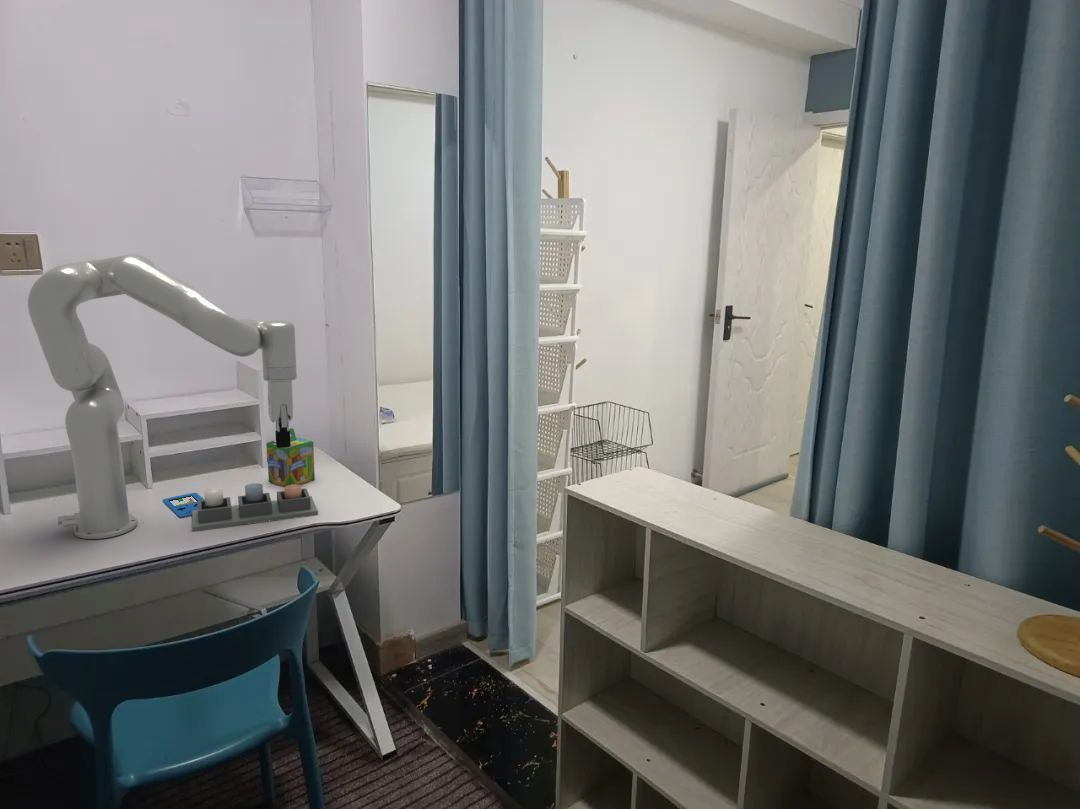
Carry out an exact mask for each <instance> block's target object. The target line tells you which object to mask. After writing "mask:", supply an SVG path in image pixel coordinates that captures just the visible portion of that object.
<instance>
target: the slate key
mask: <svg viewBox="0 0 1080 809" xmlns="http://www.w3.org/2000/svg"><path fill="white" fill-rule="evenodd" d="M244 493H245V494H244V495H245V496H246V500H247V501H259V500H262V499H263V493H264V486H263V484H262V483H258V482H256V483H249V484H246V485H245V486H244Z"/></svg>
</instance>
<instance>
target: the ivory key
mask: <svg viewBox="0 0 1080 809" xmlns="http://www.w3.org/2000/svg"><path fill="white" fill-rule="evenodd" d="M203 496H204V500H205V505H206V506H218V505H221V504H223V498H224V493H223V489H222V487H211V488H210V487H209V488H206V489H205V490H204V491H203Z"/></svg>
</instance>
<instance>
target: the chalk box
mask: <svg viewBox="0 0 1080 809" xmlns="http://www.w3.org/2000/svg"><path fill="white" fill-rule="evenodd" d="M289 431H290V444H291V446H290V447H283V448H277V446H276V439H275V440H271V441H269V442H266V444H265V445H266V456H267V458H266V459H267V460H266V461H267V472H268V473H267V474H268V475H267V476H268V483H269V482H270V483H269V484H274V485H278V486H282V487H285V486H287V485H292V484H297V485H301V486H302V485H304V484H307V483H310V482H312V481H315V479H316V478H315V454H314V453H315V452H314V451H315V450H314V441H312V440H308V439H305V438H302V437H296V434H295V433H296V432H295V429H294V428H292V427H291V428H290V427H289Z"/></svg>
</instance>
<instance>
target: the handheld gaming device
mask: <svg viewBox="0 0 1080 809" xmlns="http://www.w3.org/2000/svg"><path fill="white" fill-rule="evenodd" d="M191 496H192V497H193V498H194V499H195V500H196V501H197V502H194V501H193V500H192V499H191V498H190V499H189V500H190V501H189V502H187V503H184V504H179V505H176V506H174V505H173V504H172V503H171V502H170V501H173V500H178V501H179V502H180V501H183V499H182V498H186V497H191ZM201 500H205V498H203V497H202V496H201V495H200V494H199V493H197V492H191V493H186V494H181V495H176V496H172V497H166V498H163V499H162V503H163V504H165V505H166V506H167V508H169V509H170V510H171V511H172V512H173V514H175V515H176V516H177V517H178V518H179V519H185V517H186V518H190V516H191V517H192V510H198V501H201Z"/></svg>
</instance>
